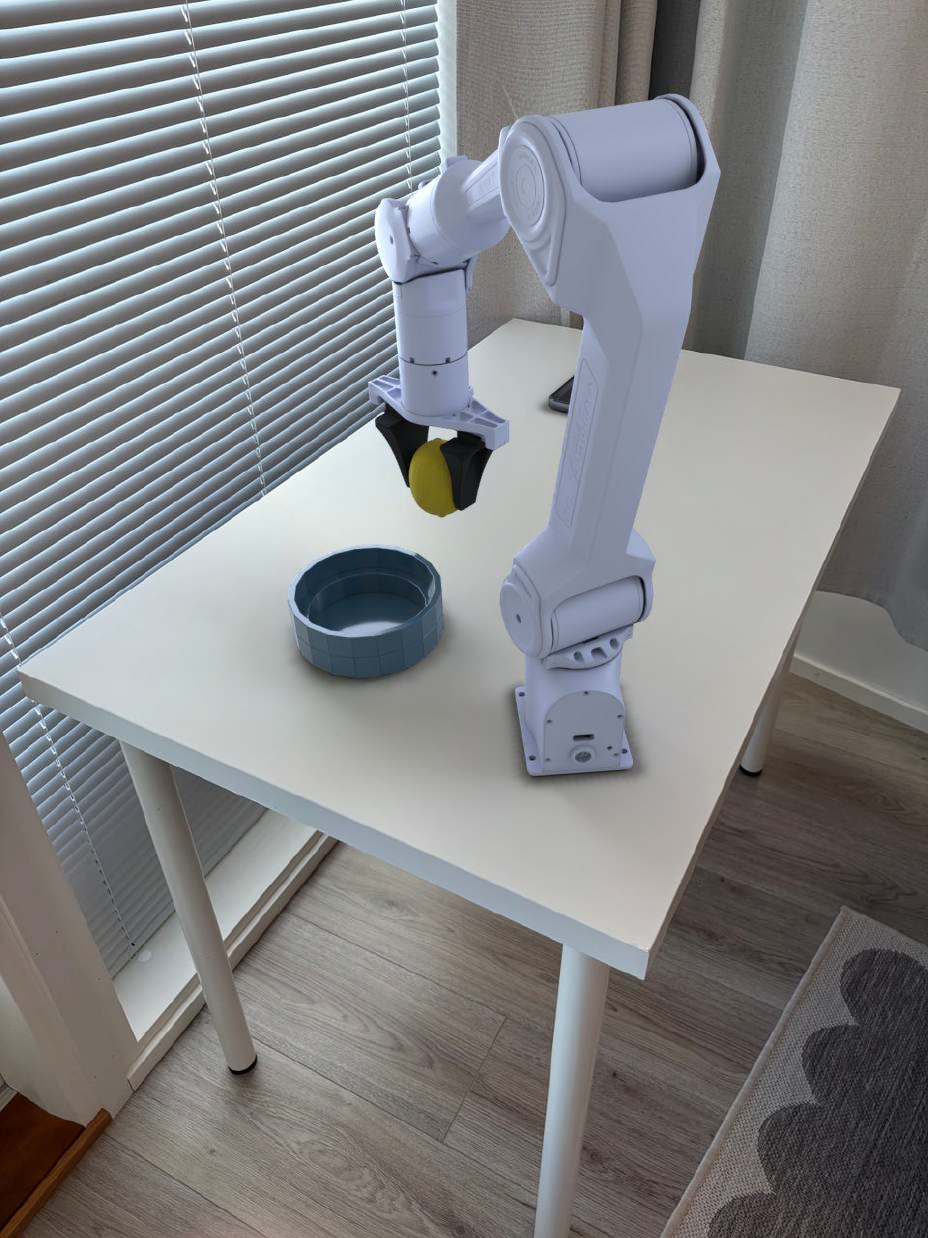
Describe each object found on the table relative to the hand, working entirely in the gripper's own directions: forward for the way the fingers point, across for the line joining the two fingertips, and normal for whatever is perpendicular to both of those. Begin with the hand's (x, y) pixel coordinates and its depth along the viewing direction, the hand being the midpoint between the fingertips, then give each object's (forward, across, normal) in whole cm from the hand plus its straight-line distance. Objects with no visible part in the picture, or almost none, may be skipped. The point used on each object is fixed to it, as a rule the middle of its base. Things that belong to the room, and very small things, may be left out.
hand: (441, 494), depth 86 cm
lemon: (+3, 0, 0) cm, 3 cm away
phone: (+9, +11, -42) cm, 44 cm away
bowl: (+9, -1, +11) cm, 14 cm away
